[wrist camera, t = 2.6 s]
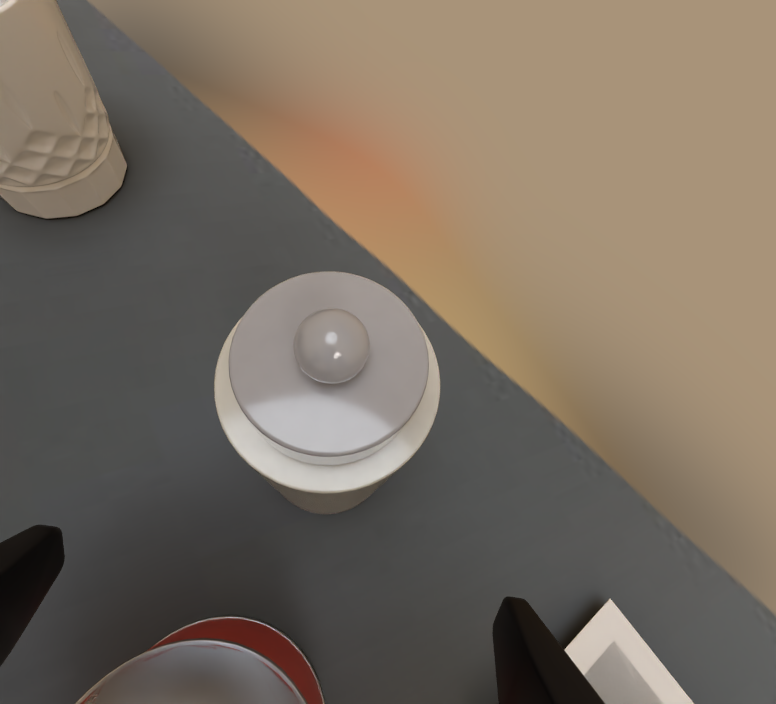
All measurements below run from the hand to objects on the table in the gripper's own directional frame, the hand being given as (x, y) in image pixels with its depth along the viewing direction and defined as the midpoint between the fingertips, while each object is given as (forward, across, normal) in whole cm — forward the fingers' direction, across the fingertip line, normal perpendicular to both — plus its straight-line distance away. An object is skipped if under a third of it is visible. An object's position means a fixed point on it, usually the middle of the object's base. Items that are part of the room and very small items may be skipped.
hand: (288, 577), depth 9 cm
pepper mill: (+11, 0, +5) cm, 12 cm away
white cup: (+20, +18, -4) cm, 28 cm away
